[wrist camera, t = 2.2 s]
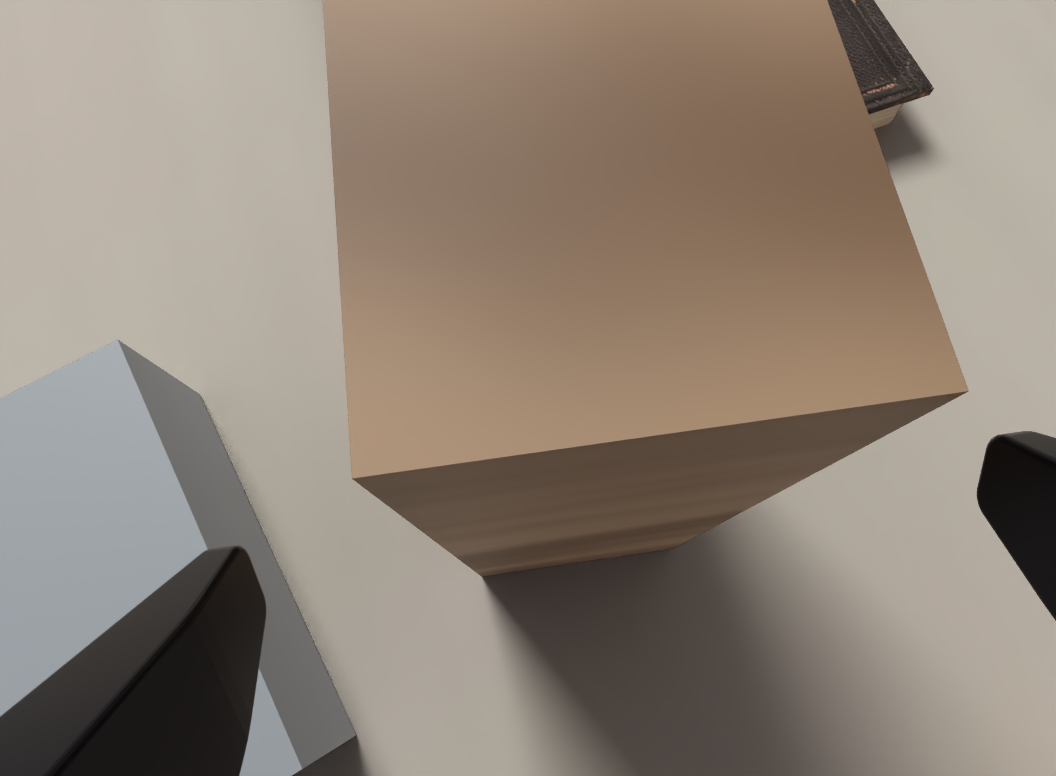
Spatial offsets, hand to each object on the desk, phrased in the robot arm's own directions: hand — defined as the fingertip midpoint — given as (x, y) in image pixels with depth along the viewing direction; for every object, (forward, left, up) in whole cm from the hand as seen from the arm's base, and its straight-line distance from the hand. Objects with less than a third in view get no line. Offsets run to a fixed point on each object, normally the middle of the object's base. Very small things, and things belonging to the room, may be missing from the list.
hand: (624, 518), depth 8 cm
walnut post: (+3, +1, -10) cm, 10 cm away
